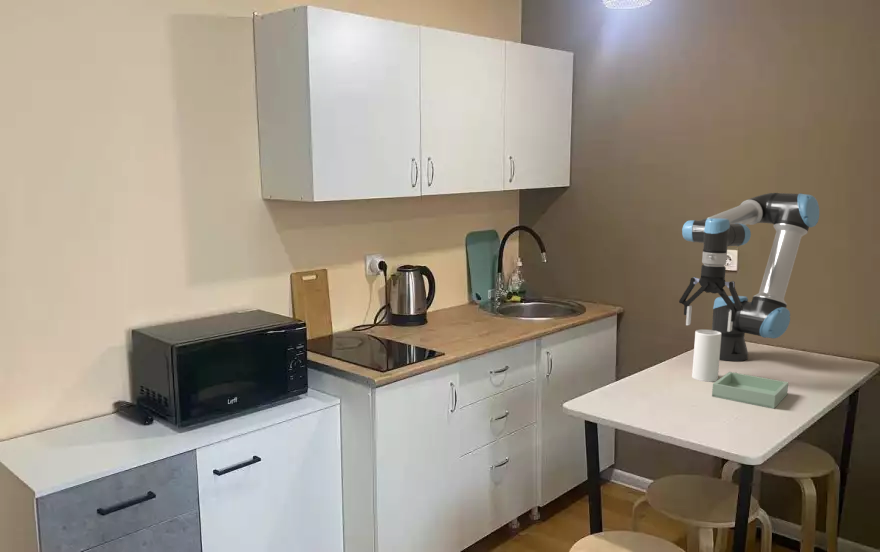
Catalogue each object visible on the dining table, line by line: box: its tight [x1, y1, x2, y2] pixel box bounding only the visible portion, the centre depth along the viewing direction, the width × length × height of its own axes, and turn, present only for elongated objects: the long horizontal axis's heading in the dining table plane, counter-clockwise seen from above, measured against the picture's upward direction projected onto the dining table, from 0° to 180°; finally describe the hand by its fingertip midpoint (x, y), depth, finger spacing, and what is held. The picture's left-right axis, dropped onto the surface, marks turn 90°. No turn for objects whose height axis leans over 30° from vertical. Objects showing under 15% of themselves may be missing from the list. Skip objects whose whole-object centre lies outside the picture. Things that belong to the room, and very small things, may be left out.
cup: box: [691, 328, 721, 383], centre depth 243 cm, size 8×8×16 cm
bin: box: [711, 371, 789, 410], centre depth 226 cm, size 18×18×4 cm
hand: (708, 327), depth 242 cm, fingers open, 13 cm apart
